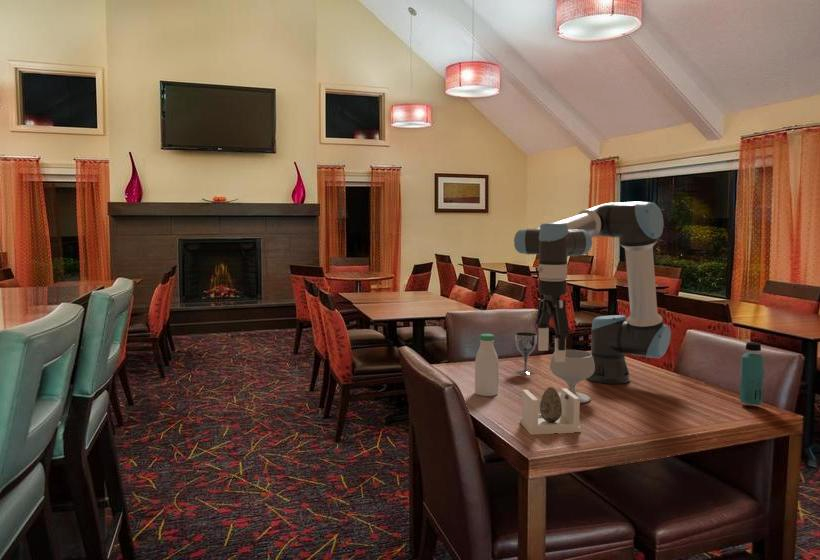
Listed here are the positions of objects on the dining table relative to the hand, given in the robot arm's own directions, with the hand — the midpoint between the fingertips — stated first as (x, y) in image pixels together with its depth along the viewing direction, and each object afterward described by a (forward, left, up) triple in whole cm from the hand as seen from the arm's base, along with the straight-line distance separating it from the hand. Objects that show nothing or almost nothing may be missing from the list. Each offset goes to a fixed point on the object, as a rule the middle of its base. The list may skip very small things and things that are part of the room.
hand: (551, 356), depth 165 cm
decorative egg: (0, 0, -19) cm, 19 cm away
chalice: (-16, -25, -21) cm, 36 cm away
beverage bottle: (-68, -11, -21) cm, 72 cm away
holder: (0, 0, -20) cm, 20 cm away
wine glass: (-11, -59, -21) cm, 63 cm away
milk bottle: (+10, -34, -21) cm, 41 cm away
